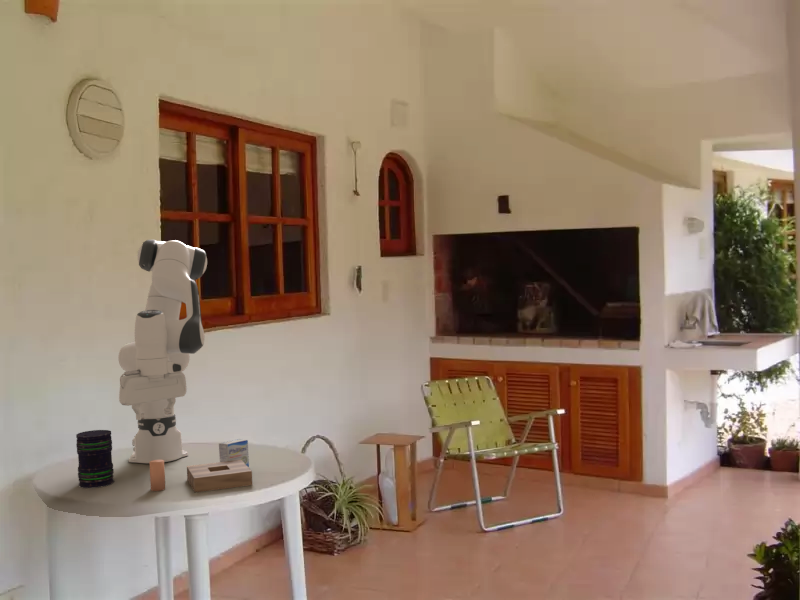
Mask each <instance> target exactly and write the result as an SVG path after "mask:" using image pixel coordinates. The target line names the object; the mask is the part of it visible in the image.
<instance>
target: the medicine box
mask: <svg viewBox="0 0 800 600" xmlns="http://www.w3.org/2000/svg"><path fill="white" fill-rule="evenodd" d="M218 450H219V451H218V452H219V462H225V461H234V460H242V461H243V462H244V463H245V464H246V465H247V466H248V468H249V467H250V463H249V462H250V459H249V440H248V439H244V438H238V439H234V440H228V441H224V442H220V443H218Z"/></svg>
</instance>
